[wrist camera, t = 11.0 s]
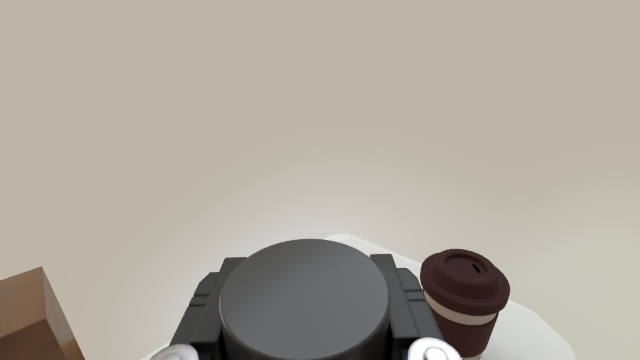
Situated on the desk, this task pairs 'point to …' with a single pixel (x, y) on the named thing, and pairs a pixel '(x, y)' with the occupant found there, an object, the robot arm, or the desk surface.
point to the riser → (33, 321)
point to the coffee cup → (464, 298)
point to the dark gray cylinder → (306, 304)
